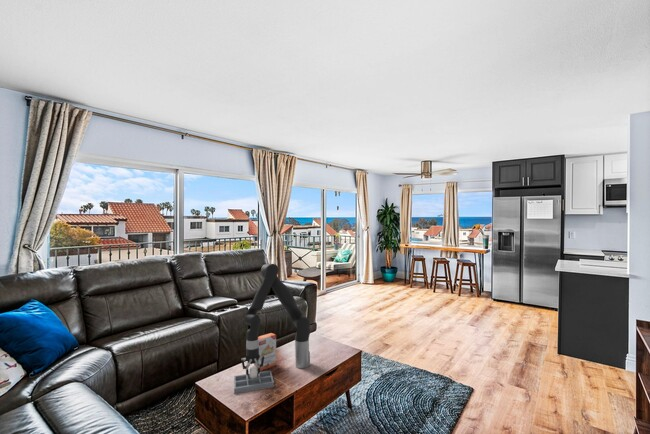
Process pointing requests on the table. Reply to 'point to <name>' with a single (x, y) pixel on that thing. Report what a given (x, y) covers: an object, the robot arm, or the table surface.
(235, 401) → the table surface
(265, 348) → the cracker box
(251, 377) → the egg
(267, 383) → the egg tray
